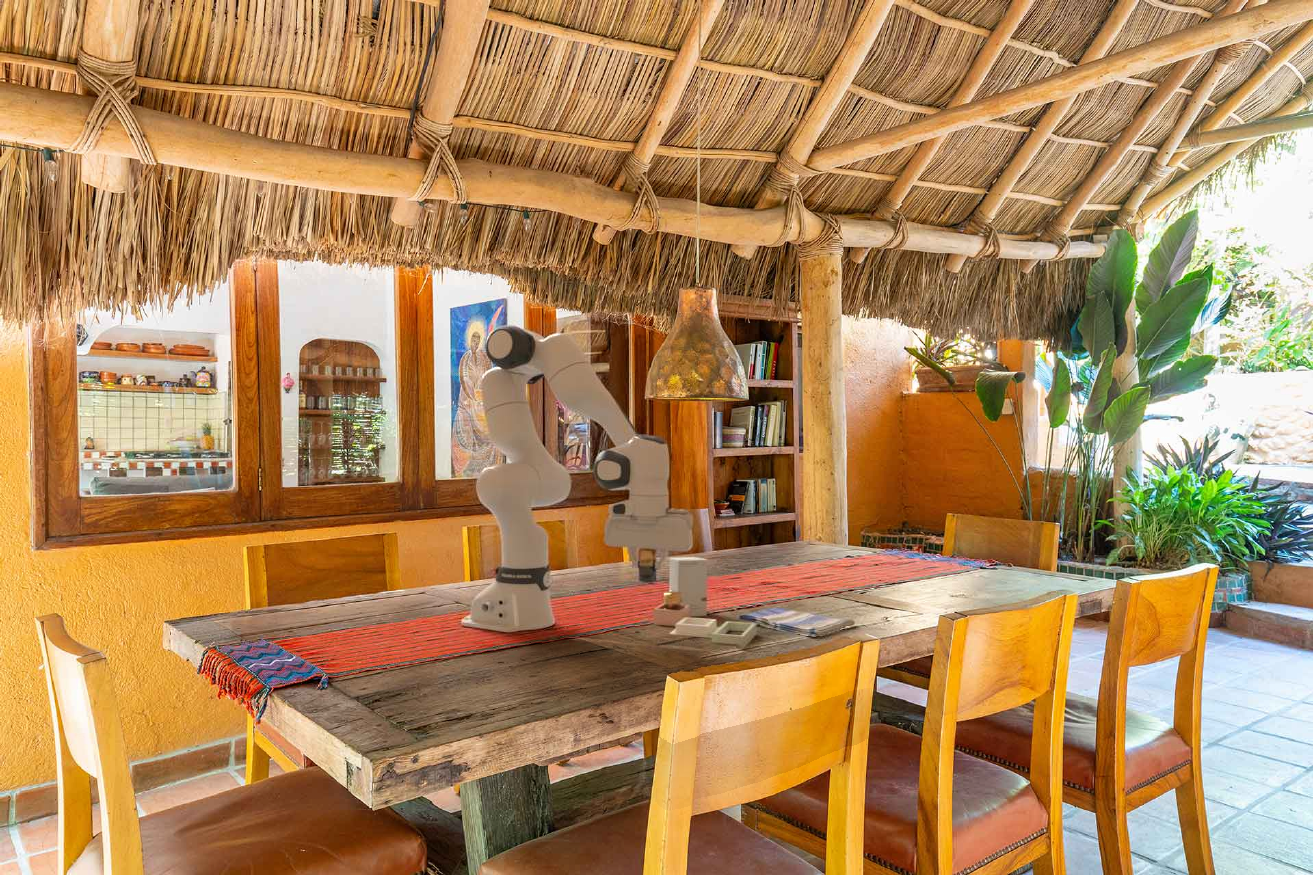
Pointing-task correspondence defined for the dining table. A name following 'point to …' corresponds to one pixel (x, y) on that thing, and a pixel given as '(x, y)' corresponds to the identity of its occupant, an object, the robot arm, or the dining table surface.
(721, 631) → the trough
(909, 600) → the dining table surface
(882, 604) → the dining table surface
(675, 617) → the pink open box
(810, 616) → the dish towel
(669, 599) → the cell
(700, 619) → the cradle
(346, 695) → the dining table surface
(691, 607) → the skincare box
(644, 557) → the cell
